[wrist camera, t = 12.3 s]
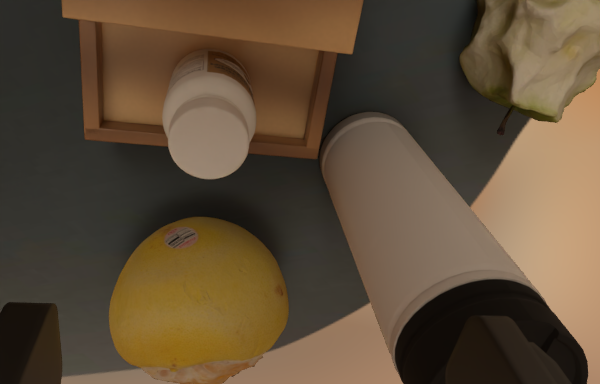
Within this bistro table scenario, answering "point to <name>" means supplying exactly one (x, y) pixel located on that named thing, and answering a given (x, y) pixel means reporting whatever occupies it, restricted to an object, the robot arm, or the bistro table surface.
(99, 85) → the stand
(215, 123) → the pill bottle
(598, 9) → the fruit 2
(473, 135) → the bistro table surface
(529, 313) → the travel mug
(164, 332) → the fruit
